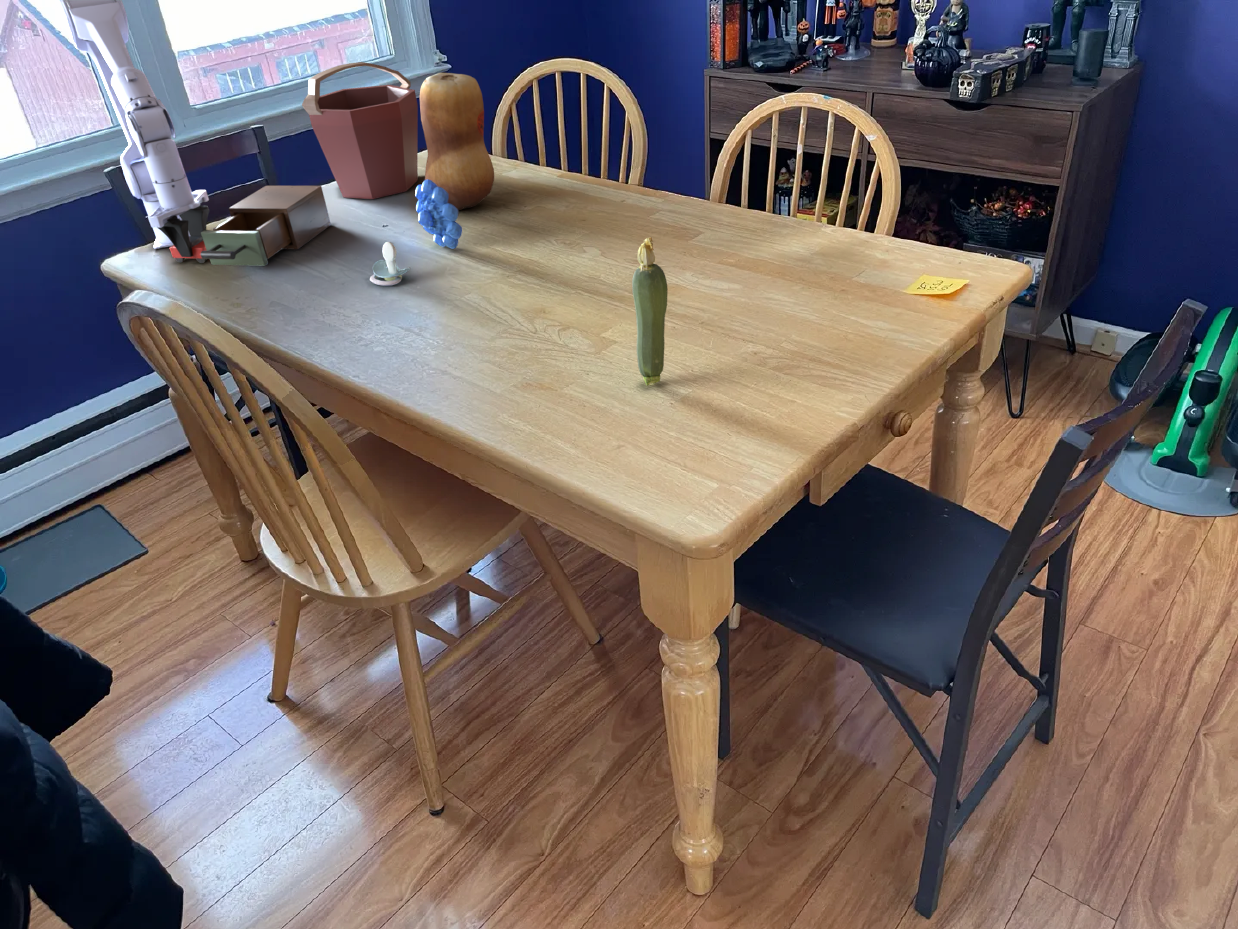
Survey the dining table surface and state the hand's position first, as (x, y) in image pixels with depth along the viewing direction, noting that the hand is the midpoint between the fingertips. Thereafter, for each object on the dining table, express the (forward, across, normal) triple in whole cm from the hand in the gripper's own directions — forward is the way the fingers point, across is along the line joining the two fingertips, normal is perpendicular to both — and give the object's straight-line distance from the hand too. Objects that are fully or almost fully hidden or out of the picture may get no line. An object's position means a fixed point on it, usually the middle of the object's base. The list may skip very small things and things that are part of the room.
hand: (194, 251), depth 171 cm
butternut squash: (+2, +30, -42) cm, 52 cm away
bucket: (+2, +42, -16) cm, 45 cm away
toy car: (+1, 0, 0) cm, 1 cm away
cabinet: (+1, +12, -12) cm, 17 cm away
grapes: (+2, +7, -46) cm, 47 cm away
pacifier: (+2, -7, -43) cm, 43 cm away
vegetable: (+2, -37, -95) cm, 102 cm away
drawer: (+1, -1, -12) cm, 12 cm away
